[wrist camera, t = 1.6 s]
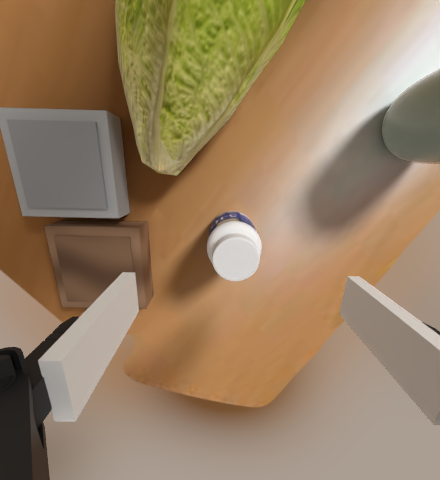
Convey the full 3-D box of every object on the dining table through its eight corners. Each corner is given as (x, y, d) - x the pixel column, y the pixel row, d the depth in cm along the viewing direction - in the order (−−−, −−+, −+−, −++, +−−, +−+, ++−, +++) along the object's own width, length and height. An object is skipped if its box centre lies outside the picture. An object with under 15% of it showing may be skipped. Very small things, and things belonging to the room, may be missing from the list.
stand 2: (63, 219, 26) (41, 226, 23) (147, 221, 26) (137, 228, 23) (77, 293, 29) (60, 308, 26) (153, 295, 29) (145, 310, 26)
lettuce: (58, 133, 19) (142, 195, 13) (131, -381, 11) (440, -812, 5) (165, 164, 29) (240, 206, 23) (245, -90, 21) (392, -122, 15)
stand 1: (23, 115, 23) (-8, 106, 20) (120, 117, 23) (104, 109, 20) (44, 211, 26) (20, 216, 23) (129, 212, 26) (117, 218, 23)
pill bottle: (232, 200, 26) (238, 215, 17) (261, 231, 27) (281, 260, 18) (200, 231, 27) (191, 259, 18) (230, 260, 28) (234, 299, 19)
